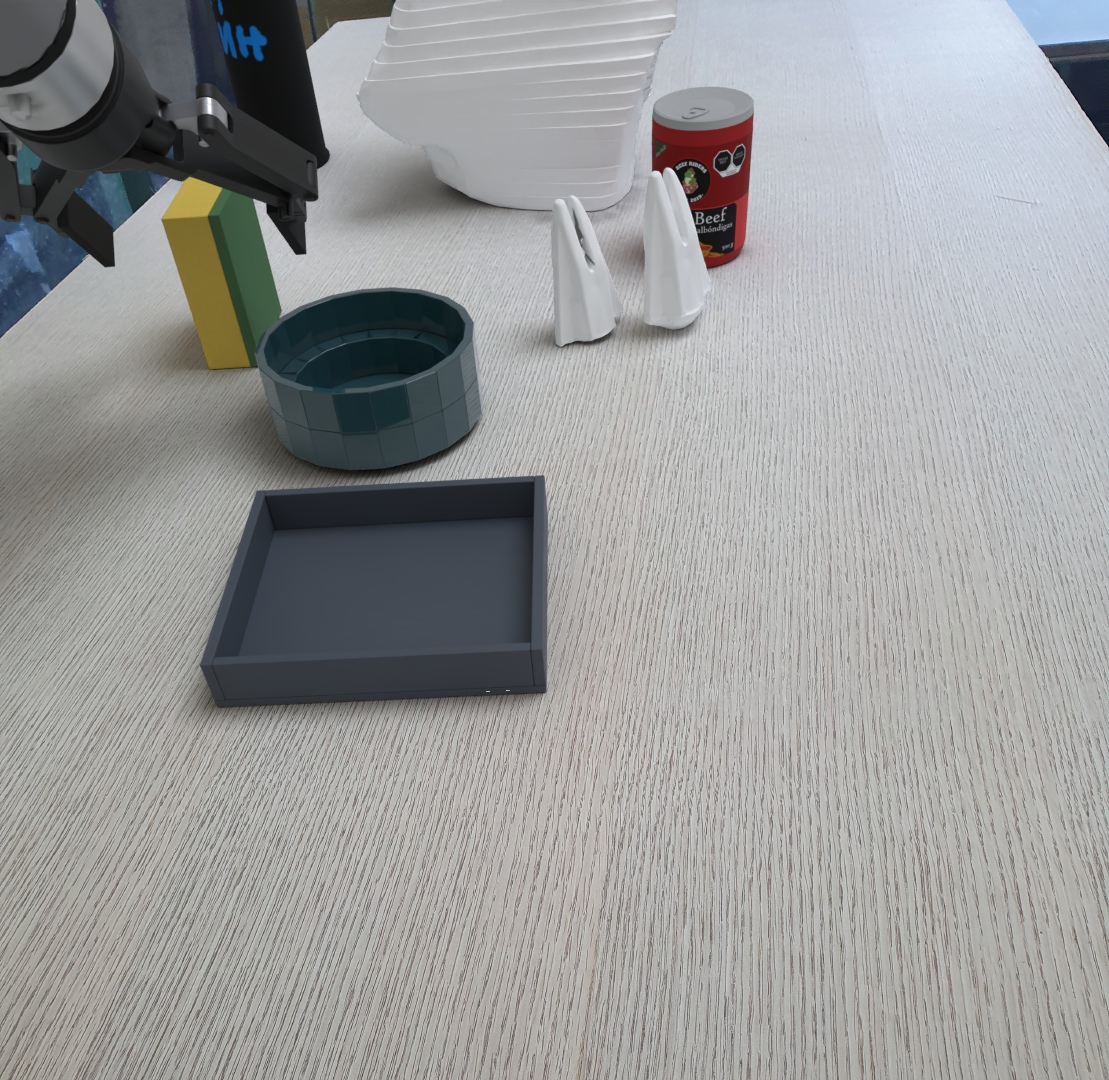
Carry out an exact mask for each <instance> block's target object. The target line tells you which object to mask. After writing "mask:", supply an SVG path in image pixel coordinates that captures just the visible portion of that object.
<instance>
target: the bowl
mask: <svg viewBox="0 0 1109 1080" xmlns="http://www.w3.org/2000/svg"><path fill="white" fill-rule="evenodd" d="M475 327H476V326H475V322H474V320H473V318H472V317H471V315H470V313H469V312H468V311H467V308H466V307H464V306H463V305H461V304H460V303H458V302H457V301H455V300H454V299H451V298H450V297H449V296H445V295H442V294H440V293H439V294H438V293H435V292H432V291H429V290H424V289H418V288H409V287H408V288H407V287H398V286H397V287H395V286H391V287H375V288H361V289H356V290H351V291H346V292H345V291H344V292H341V293H336V294H335V293H334V294H331V295H327V296H325V297H322V298H319V299H316V300H313V301H311V302H308V303H305V304H302V305H300V306H298V307H296V308H294V309H293V310H290V311H289V312H287V313H286V314H284V315H281V316H280V317H279V319H277V320H276V321H275V322H274V323H273V324H272V325H271V326H270V327H269V328H268V329H267V330H266V331H265V332H264V333H263V334H262V335H261V336H260V339H259V341H258V344H257V346H256V349H255V352H254V353H255V357H256V361H257V364H258V366H257V368H258V371H259V375H260V378H261V382H262V386H263V389H264V393H265V396H266V399H267V403H268V407H269V410H270V415H271V417H272V420H273V424H274V427H275V431H276V435H277V439H278V441H279V444H281V445H282V446H283V447H284V448H286V450H288V451H289V452H290V453H291V454H292V455H293V456H294V457H296V458H297V459H300V460H303V461H305V462H308V463H310V464H313V465H316V466H318V467H322V468H323V467H324V468H330V469H338V470H344V471H364V470H379V469H380V470H382V469H388V468H393V467H396V466H401V465H405V464H410V463H414V462H418V461H421V460H423V459H425V458H427V457H430V456H432V455H434V454H437V453H439V452H441V451H444V450H446V449H448V448H450V447H451V446H452V445H453V444H456V442H457V441H458V442H459V440H460V439H462V438H463V437H464V436H466V435H467V434H468V433H469V432H471V430H472V429H473V428H474V426H475V425H476V423H477V422H478V421H479V419H480V417H481V416H482V413H483V404H484V403H483V400H484V393H483V386H482V385H483V384H482V377H481V369H480V361H479V353H478V352H479V351H478V345H477V344H478V343H477V335H476V328H475Z"/></svg>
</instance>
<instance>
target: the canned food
mask: <svg viewBox="0 0 1109 1080" xmlns="http://www.w3.org/2000/svg"><path fill="white" fill-rule="evenodd" d="M754 116H755V107H754V98H753V97H752V96H751V95H750V94H748V93H747V92H745V91H742V90H740V89H736V88H731V87H723V86H698V87H697V86H696V87H689V88H682V89H680V90H675V91H673V92H670V93H667V94H665V95H663V96H661V97H659V98H657V100H656V101H655V102H654V103H653V105H652V115H651V172H653V171H659V172H660V173H661V175H662V178H663V172H664V169H665V168H671V169H672V170H673V171H674V172H675V174H676V175H677V177H678V179H679V182H680V184H681V186H682V188H683V190H684V193H685V196H686V198H687V201H688V204H689V208H690V211H691V214H692V217H693V221H694V224H695V227H696V231H697V236H698V240H699V245H700V248H701V251H702V255H703V258H704V262H705V264H706V268H707V269H708V268H712V267H717V266H721V265H724V264H727V263H728V262H730V261H732V260H733V259H735V258H737V257H738V256H739V254H741V252H742V250H743V247H744V245H745V242H746V237H747V222H748V221H747V220H748V210H749V209H748V208H749V206H748V205H749V194H750V181H751V180H750V179H751V165H752V164H751V163H752V150H753V136H754V118H755V117H754Z"/></svg>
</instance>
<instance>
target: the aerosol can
mask: <svg viewBox="0 0 1109 1080" xmlns="http://www.w3.org/2000/svg"><path fill="white" fill-rule="evenodd" d="M209 1H210V5H211V9H212V14H213V17H214V22H215V25H216V29H217V33H218V37H219V40H220V41H219V42H220V45H221V48H222V53H223V57H224V61H225V64H226V69H227V73H228V76H229V80H230V85H231V89H232V92H233V96H234V100H235V105H236V108H238V109H240V110H241V111H243V112H244V113H246V114H248V115H249V116H251V117H253V118H254V119H256V120H257V121H259V122H261V123H262V124H264V125H266V126H267V127H269V128H270V129H272V130H274V131H275V132H277V133H279V134H280V135H282V136H284V137H285V138H287V139H288V140H290V141H292V142H293V143H295V144H297V145H298V146H300V147H301V148H303V149H305V150H306V151H308V152H310V153H311V154H313V155H314V156H315V157H316V159H317V169H319V168H320V167H322V166H324V164H326V162H328V161H329V159H330V156H331V153H330V150H329V149H328V147H326V142H325V137H324V133H323V127H322V122H321V117H320V112H319V107H318V103H317V96H316V93H315V92H316V91H315V88H314V82H313V78H312V77H313V76H312V73H311V67H310V63H309V58H308V53H307V48H306V43H305V37H304V33H303V29H302V24H301V18H300V13H299V7H298V4H297V3H298V2H297V0H209Z"/></svg>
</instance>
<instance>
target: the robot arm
mask: <svg viewBox="0 0 1109 1080" xmlns="http://www.w3.org/2000/svg"><path fill="white" fill-rule="evenodd" d="M194 87H195V88H194V91H195V99H192V100H184V101H178V102H173V101H171V100H170V98H168V97H167V96H165V95H164V94H161V93H160V92H158V91H157V90H155V89H154V88H153V87H152V85H151V84H150V81H149V79H148V77H147V75H146V73H145V71H144V68H143V67H142V65H141V64H140V62H139V60H138V58H137V57H136V55H135V54H134V52H133V51H132V50H131V48H130V47H129V46H128V44H127V43H126V42H125V40H124V39H123V37H122V36H121V35H120V33H119V32H118V31H117V30H116V28H115V26H114V25H113V24H112V23H111V21H110V19H108V18H107V17H106V14H105V13H104V11H103V10H102V8H101V6H100V5H99V4H98V2H97V1H96V0H0V219H1V220H3V221H5V222H7V223H19V222H21V221H22V216H27V217H28V216H29V217H32V219H33V222H35V223H37V224H40V225H43V226H44V225H46V226H48V227H49V228H51V229H52V230H53V231H54V232H56V233H57V234H58V235H59V236H60V237H62V238H64V239H67V240H68V239H69V240H70V239H71V240H72V241H74V242H75V244H77V245H78V246H79V247H81V248H82V250H84V251H85V252H86V253H87V254H89V256H91V257H92V258H93V259H95V261H97V262H98V263H99V264H100V265H102V267H103V268H115V267H116V259H115V240H114V238H115V237H114V227H113V226H112V225H111V224H110V223H109V222H108V221H107V220H106V219H105V218H104V217H103V216H102V215H100V214H99V212H97V211H96V210H95V209H94V208H93V207H92V206H91V205H90V204H89V203H88V202H87V201H86V200H85V199H84V198H83V197H81V195H79V194H78V192H76V189H80V190H81V189H82V188H84V185H85V184H86V182H87V180H89V177H90V176H94V175H95V173H96V172H101V173H102V174H103V175H112V174H120V173H123V172H138V173H142V172H150V173H153V174H157V175H160V176H163V177H165V178H168V179H170V180H174V181H177V182H181V183H183V182H184V181H185V180H186V179H187V178H189V177H192V178H195V179H198V180H201V181H204V182H207V183H209V184H212V185H215V186H218V187H221V188H224V189H227V190H229V191H232V192H235V193H238V194H241V195H244V196H247V197H249V198H252V199H253V200H255V201H258V202H261V203H264V204H265V211H266V215H267V216H268V218H269V219H270V221H271V222H272V223H273V225H274V226H275V227H276V229H277V230H278V232H279V233H280V235H281V236H282V238H283V239H284V240H285V242H286V243H287V245H288V246H289V248H290V249H291V250H292V252H293V253H294V254H295V256H301V255H302V256H303V255H307V254H308V253H307V236H306V235H307V233H306V223H307V220H308V211H307V209H308V207H307V203H312V202H317V201H318V200H319V179H318V168H317V159H316V157H315V156H314V155H313V154H311V153H310V152H308V151H306V150H305V149H303V148H301V147H300V146H298V145H297V144H295V143H293V142H292V141H290V140H288V139H287V138H285V137H284V136H282V135H280V134H279V133H277V132H275V131H274V130H272V129H270V128H269V127H267V126H266V125H264V124H262V123H261V122H259V121H257V120H256V119H254V118H253V117H251V116H249V115H248V114H246V113H244V112H243V111H241V110H240V109H238V108H237V106H234V105H233V104H231V103H230V101H229V100H228V99H227V98H226V97H225V95H224V94H223V93H222V92H221V91H220V89H219V88H218V87H217V86H216V85H214V84H212V83H208V82H200V83H198V84H196V85H195V86H194ZM24 146H25V147H26V148H27V149H28V150H30V151H31V152H32V153H33V154H34V155H35V156H36V157H37V158H39V159H40V162H39V164H38V166H37V168H35V169H33V167H29V170H30V184H23V183H20V179H19V171H18V170H19V169H18V162H17V161H18V152H19V151H22V150H23V148H24ZM171 149H172V156H173V157H172V158H170V157H167V156H168V154H169V152H170V151H171Z"/></svg>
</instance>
